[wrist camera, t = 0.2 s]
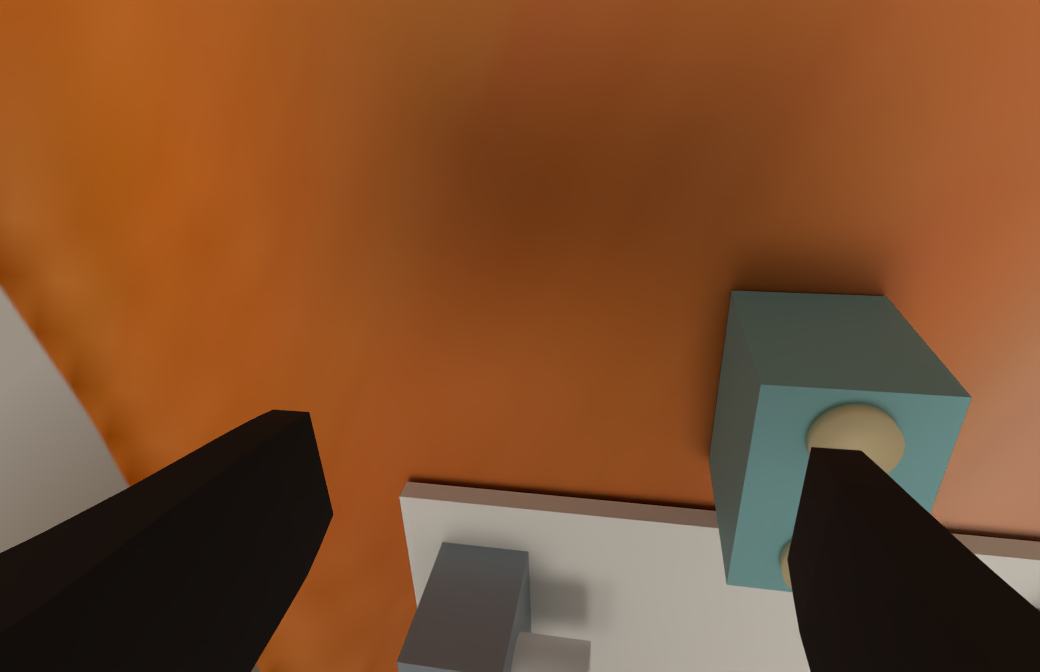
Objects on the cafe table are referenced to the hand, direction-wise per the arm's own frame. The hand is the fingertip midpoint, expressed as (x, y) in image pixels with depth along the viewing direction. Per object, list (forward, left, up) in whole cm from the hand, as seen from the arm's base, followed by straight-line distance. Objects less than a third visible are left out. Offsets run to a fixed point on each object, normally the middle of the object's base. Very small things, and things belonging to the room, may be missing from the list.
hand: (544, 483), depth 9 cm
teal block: (-4, -6, -10) cm, 12 cm away
